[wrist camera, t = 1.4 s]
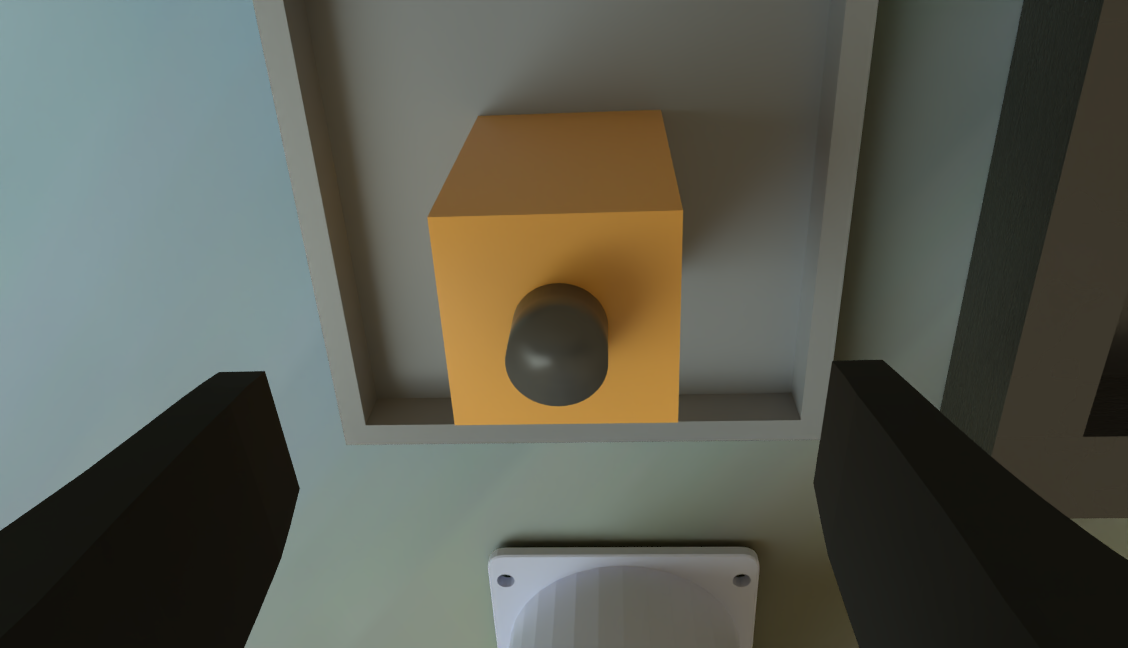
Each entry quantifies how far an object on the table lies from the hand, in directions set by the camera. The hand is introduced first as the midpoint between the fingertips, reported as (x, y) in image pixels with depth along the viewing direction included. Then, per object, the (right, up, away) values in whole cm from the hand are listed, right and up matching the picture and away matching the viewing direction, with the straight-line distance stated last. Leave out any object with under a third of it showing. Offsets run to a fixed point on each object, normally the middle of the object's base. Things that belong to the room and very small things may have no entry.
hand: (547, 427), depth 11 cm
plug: (0, +4, +8) cm, 9 cm away
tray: (0, +5, +9) cm, 10 cm away
